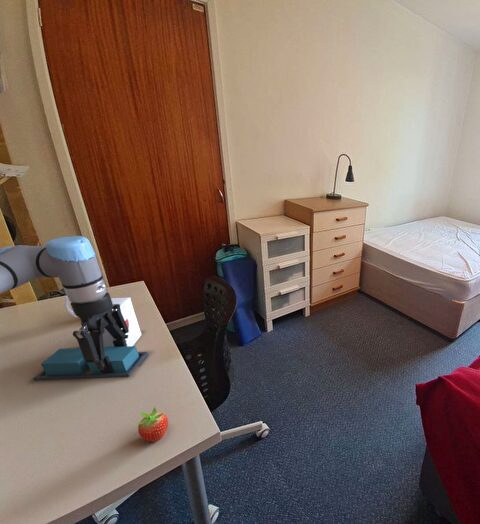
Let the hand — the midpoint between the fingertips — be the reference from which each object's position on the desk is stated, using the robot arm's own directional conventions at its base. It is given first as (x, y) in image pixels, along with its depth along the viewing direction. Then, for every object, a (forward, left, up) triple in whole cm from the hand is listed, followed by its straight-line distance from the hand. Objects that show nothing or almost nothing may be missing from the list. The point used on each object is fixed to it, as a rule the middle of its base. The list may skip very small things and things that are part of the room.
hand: (117, 366), depth 80 cm
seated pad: (-11, 0, 0) cm, 11 cm away
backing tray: (-6, 0, -1) cm, 6 cm away
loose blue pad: (0, 0, 0) cm, 0 cm away
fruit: (+22, -23, -1) cm, 32 cm away
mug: (-25, +25, -1) cm, 36 cm away
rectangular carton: (-6, +10, -1) cm, 12 cm away
